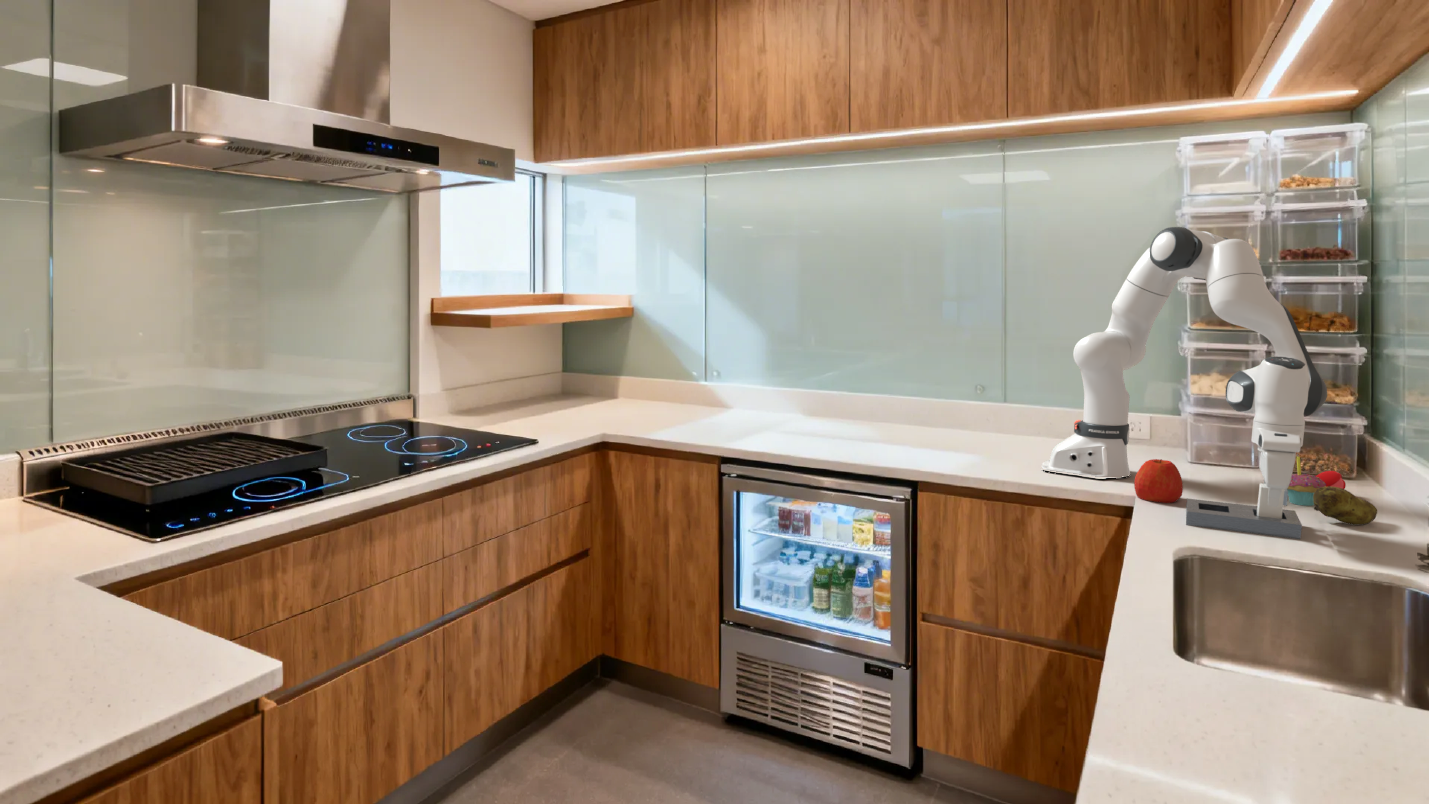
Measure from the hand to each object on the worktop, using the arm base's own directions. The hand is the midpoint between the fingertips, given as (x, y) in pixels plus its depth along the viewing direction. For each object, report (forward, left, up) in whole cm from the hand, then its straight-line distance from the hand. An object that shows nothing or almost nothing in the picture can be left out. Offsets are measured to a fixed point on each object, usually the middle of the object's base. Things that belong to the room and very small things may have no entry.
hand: (1270, 500), depth 170 cm
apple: (-21, +15, -7) cm, 27 cm away
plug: (0, 0, -6) cm, 6 cm away
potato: (+15, +15, -7) cm, 22 cm away
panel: (-5, 0, -7) cm, 8 cm away
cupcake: (+9, +30, -7) cm, 32 cm away
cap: (+15, +42, -7) cm, 45 cm away
